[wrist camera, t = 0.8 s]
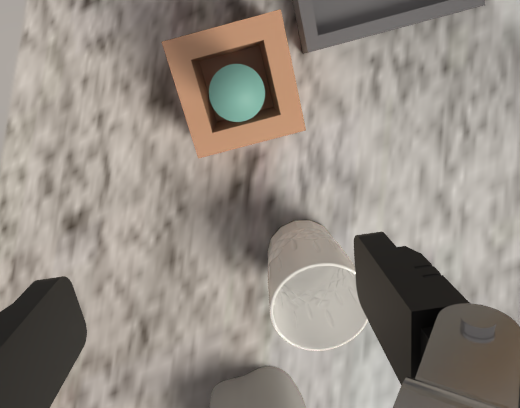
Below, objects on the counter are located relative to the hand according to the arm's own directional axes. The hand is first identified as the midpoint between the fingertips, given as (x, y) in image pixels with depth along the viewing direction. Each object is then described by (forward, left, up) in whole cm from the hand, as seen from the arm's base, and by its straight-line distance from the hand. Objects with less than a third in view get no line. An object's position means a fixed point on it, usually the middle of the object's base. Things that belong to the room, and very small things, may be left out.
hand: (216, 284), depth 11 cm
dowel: (-2, -4, -24) cm, 24 cm away
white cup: (-4, +13, -25) cm, 28 cm away
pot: (-2, -4, -25) cm, 25 cm away
